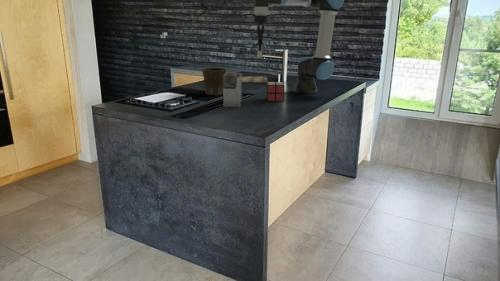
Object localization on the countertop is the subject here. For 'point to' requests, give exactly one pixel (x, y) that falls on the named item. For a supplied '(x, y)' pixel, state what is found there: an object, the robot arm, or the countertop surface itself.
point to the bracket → (233, 94)
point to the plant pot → (214, 80)
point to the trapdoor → (231, 79)
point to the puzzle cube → (275, 91)
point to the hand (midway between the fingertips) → (259, 56)
